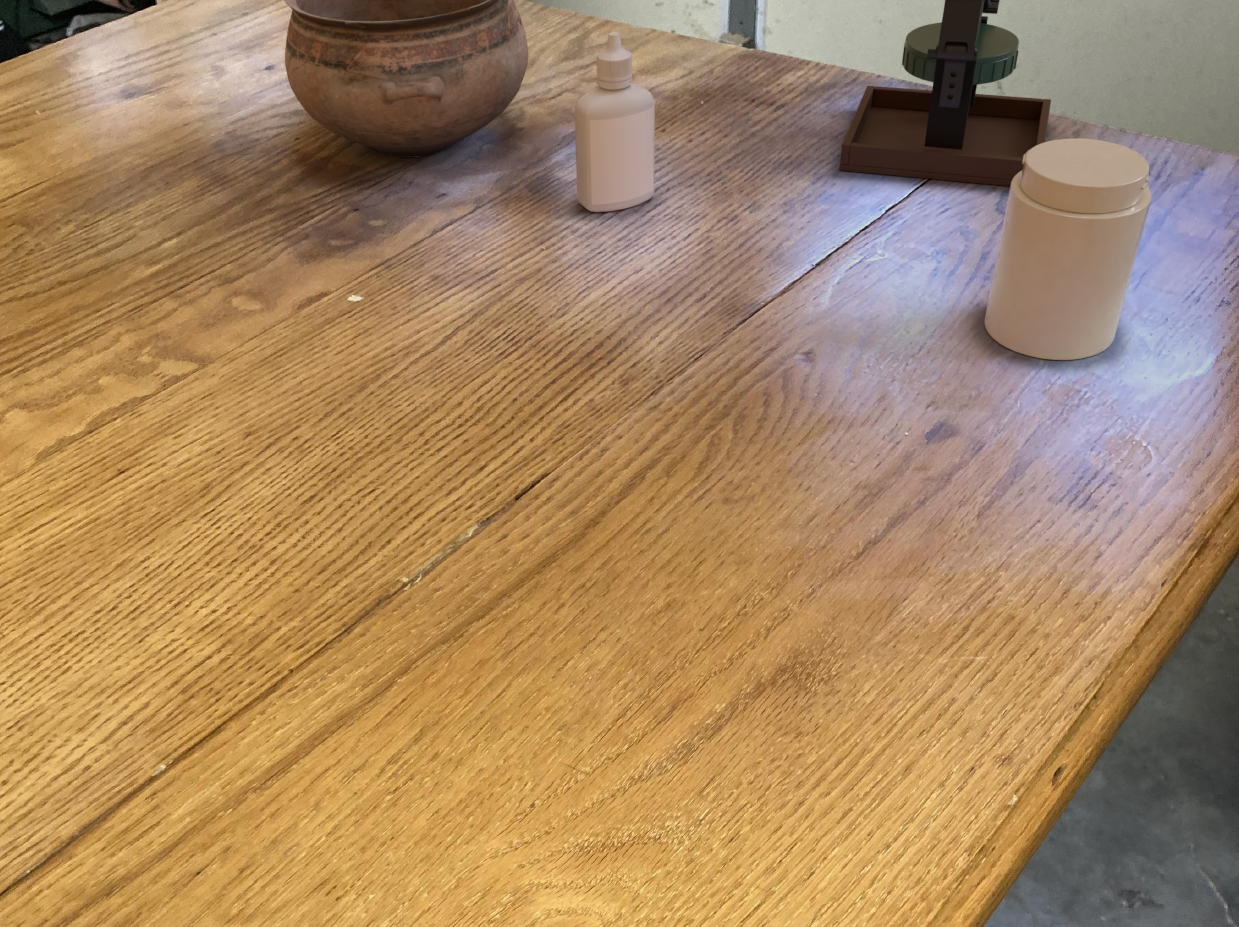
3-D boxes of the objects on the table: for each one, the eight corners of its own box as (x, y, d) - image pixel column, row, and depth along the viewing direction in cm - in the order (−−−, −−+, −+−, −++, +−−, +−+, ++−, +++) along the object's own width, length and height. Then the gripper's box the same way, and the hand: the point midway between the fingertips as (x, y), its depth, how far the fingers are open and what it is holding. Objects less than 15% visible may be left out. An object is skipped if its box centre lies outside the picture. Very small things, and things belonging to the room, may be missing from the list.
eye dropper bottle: (653, 213, 95) (654, 44, 87) (575, 214, 96) (570, 45, 88) (654, 187, 99) (656, 22, 91) (579, 188, 99) (574, 23, 91)
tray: (1046, 124, 104) (1051, 99, 103) (1036, 189, 95) (1042, 162, 94) (864, 109, 108) (867, 85, 107) (839, 170, 99) (842, 144, 98)
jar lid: (887, 77, 97) (890, 50, 95) (921, 41, 102) (924, 16, 101) (998, 92, 93) (1002, 65, 92) (1027, 54, 99) (1032, 28, 97)
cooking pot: (555, 192, 99) (547, 24, 91) (301, 220, 97) (271, 51, 89) (512, 75, 118) (502, -73, 110) (299, 96, 116) (274, -52, 108)
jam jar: (1115, 305, 82) (1159, 140, 76) (1113, 368, 77) (1159, 196, 70) (989, 291, 85) (1020, 129, 78) (978, 351, 79) (1011, 183, 72)
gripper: (959, -250, 94) (916, 72, 109) (923, -187, 79) (880, 175, 94) (1070, -250, 92) (1011, 78, 107) (1054, -185, 77) (989, 185, 92)
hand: (949, 123), depth 100 cm, fingers closed on jar lid, 8 cm apart
